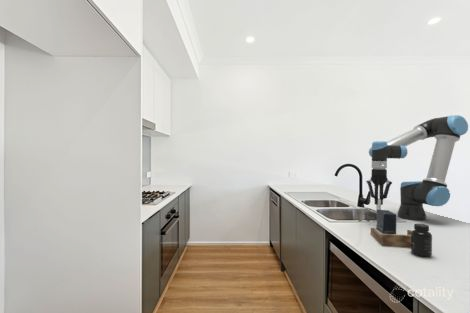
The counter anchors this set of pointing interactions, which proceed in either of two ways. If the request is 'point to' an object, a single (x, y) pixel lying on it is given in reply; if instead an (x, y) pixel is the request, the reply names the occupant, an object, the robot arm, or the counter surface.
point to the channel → (392, 239)
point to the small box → (386, 222)
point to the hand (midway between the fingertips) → (378, 210)
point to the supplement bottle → (421, 241)
